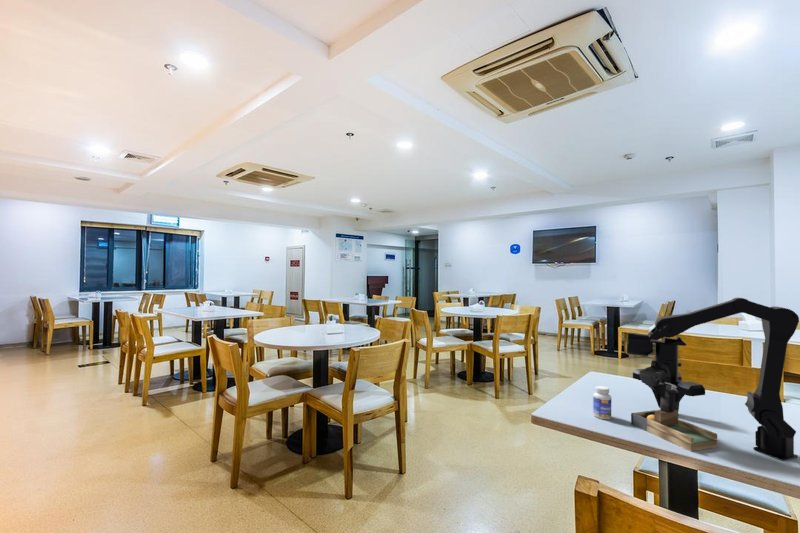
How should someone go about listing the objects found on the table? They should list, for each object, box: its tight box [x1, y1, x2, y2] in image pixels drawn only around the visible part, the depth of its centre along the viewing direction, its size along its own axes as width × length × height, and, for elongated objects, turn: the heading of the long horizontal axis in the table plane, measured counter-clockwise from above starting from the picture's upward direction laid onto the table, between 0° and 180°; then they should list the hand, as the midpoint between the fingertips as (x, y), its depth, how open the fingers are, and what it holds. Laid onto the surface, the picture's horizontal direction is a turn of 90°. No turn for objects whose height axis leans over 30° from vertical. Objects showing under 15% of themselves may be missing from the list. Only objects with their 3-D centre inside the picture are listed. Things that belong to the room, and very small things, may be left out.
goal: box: [630, 409, 657, 432], centre depth 117 cm, size 6×10×4 cm, turn 106°
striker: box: [654, 396, 679, 426], centre depth 112 cm, size 3×7×8 cm, turn 106°
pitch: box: [646, 418, 718, 452], centre depth 108 cm, size 13×10×4 cm
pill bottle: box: [592, 385, 612, 420], centre depth 125 cm, size 5×5×10 cm
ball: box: [647, 415, 654, 421], centre depth 117 cm, size 4×4×4 cm
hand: (666, 409), depth 112 cm, fingers closed on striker, 3 cm apart
